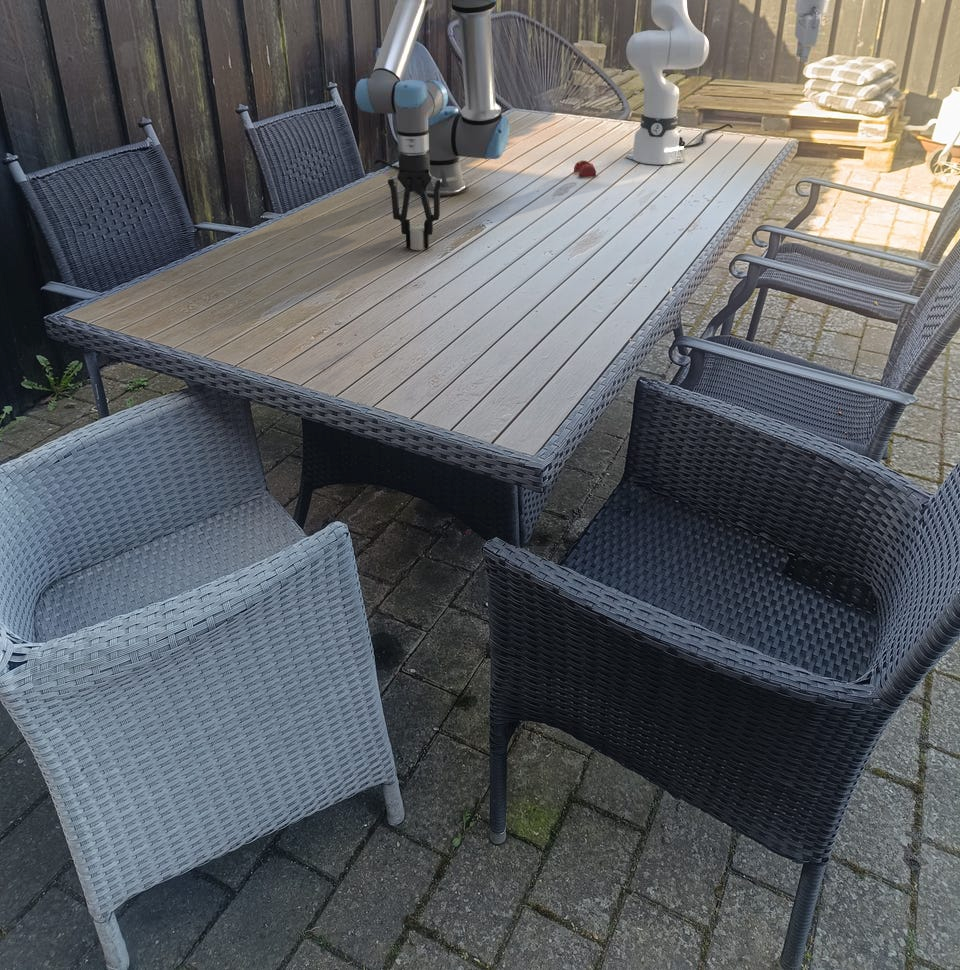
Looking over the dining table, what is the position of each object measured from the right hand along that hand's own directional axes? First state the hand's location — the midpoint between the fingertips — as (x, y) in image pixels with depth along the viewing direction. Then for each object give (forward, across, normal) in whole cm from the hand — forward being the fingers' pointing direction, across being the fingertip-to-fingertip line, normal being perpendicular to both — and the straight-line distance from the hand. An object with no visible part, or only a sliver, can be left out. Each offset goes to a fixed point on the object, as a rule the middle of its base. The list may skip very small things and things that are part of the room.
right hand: (801, 59), depth 248 cm
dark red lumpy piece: (+34, -6, +61) cm, 70 cm away
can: (+34, -81, +98) cm, 132 cm away
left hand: (+34, -81, +98) cm, 131 cm away
